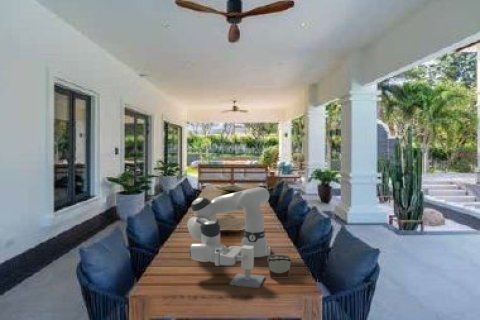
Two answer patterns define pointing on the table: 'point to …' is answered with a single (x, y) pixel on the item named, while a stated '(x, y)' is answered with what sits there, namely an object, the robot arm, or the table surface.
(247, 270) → the post stand
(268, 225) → the table surface
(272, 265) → the food container
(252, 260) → the tall white pillar
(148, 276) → the table surface
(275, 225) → the table surface
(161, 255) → the table surface
